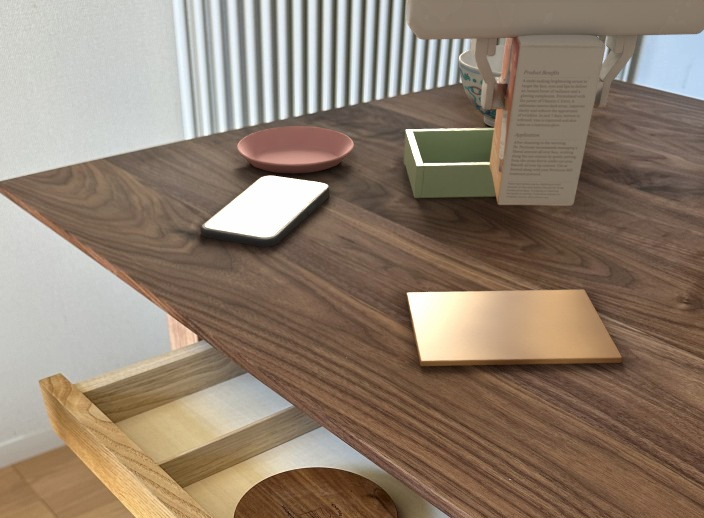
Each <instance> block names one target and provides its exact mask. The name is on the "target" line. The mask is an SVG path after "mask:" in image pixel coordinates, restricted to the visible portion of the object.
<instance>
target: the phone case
mask: <svg viewBox="0 0 704 518" xmlns="http://www.w3.org/2000/svg"><path fill="white" fill-rule="evenodd" d="M330 194H331V193H330V186H329V185H328V184H327V183H324V182H320V181H319V182H318V181H313V180H305V179H299V178H298V179H297V178H290V177H283V176H276V175H264V176H261V177H259V178H258V179H257V180H255V181H254V182H253V183H252V184H250V185H249V186H248V187H247V188H246V189H245V190H243V191H242V192H241V193H239V194H238V195H237V196H236V197H235V198H233V199H232V200H231V201H230V202H228V203H227V204H226V205H225V206H223V207H222V208H221V209H220V210H219V211H218V212H216V213H215V214H214V215H212V216H211V217H210V218H209V219H207V220H206V221H205V222H204V223H202V225H200V235H201V236H202V237H204V238H208V239H214V240H220V241H225V242H231V243H237V244H243V245H249V246H255V247H259V248H260V247H261V248H269V247H274V246H277V245H278V244H279V243H280V242H281V241H283V239H284V238H286V236H288V235H289V234H290V233H291V232H292V231H293V230H295V229H296V228H297V227H298V226H299V225H300V224H301V223H302V222H303V221H304V220H305V219H307V218H308V217H309V216H310V215H311V214H313V213H314V212H315V210H316V209H318V208H319V207H320V206H321V205H322V204H323V203H324V202H326V200H328V199H329V198H330Z"/></svg>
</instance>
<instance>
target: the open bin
mask: <svg viewBox="0 0 704 518" xmlns="http://www.w3.org/2000/svg"><path fill="white" fill-rule="evenodd" d="M493 134H494V127H474V128H473V127H472V128H471V127H469V128H421V129H420V128H419V129H416V128H415V129H409V128H408V129H405V132H404V148H403V149H404V150H403V166H405V169H406V172H407V177H408V180H409V183H410V187H411V190H412V195H413V197H414V199H420V198H422V199H423V198H424V199H427V198H428V199H429V198H477V197H478V198H483V197H485V198H487V197H496V193H495V187H494V182H493V177H492V172H491V169H490V157H491V149H492V141H493Z"/></svg>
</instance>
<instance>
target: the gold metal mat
mask: <svg viewBox="0 0 704 518" xmlns="http://www.w3.org/2000/svg"><path fill="white" fill-rule="evenodd" d="M405 299H406V302H407V309H408V313H409V317H410V323H411V327H412V332H413V337H414V341H415V346H416V351H417V356H418V360H419V366H420V367H444V366H450V367H451V366H496V365H497V366H501V365H502V366H504V365H505V366H506V365H507V366H508V365H556V364H557V365H560V364H562V365H565V364H567V365H568V364H616V363H618V364H619V363H622V360H623V356H622V354H621V353H620V351H619V349H618V348H617V346H616V344H615V342H614V340H613V339H612V337H611V335H610V333H609V331H608V329H607V328H606V326H605V324H604V322H603V321H602V319H601V316H600V315H599V313H598V312H597V309H596V308H595V306H594V304H593V302H592V301H591V299H590V297H589V295H588V294H587V292H586V289H540V290H539V289H538V290H537V289H533V290H528V289H527V290H481V291H480V290H479V291H477V290H476V291H475V290H473V291H428V292H427V291H426V292H423V291H422V292H420V291H419V292H416V291H415V292H406V294H405Z"/></svg>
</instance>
